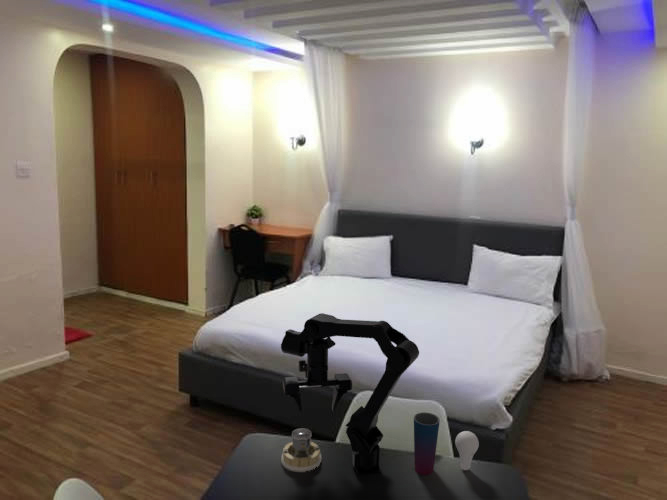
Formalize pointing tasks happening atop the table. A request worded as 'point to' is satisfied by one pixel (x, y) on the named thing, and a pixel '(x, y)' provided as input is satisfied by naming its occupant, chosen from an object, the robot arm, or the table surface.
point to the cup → (425, 442)
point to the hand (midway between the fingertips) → (317, 412)
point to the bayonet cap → (301, 443)
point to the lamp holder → (300, 459)
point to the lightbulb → (466, 448)
